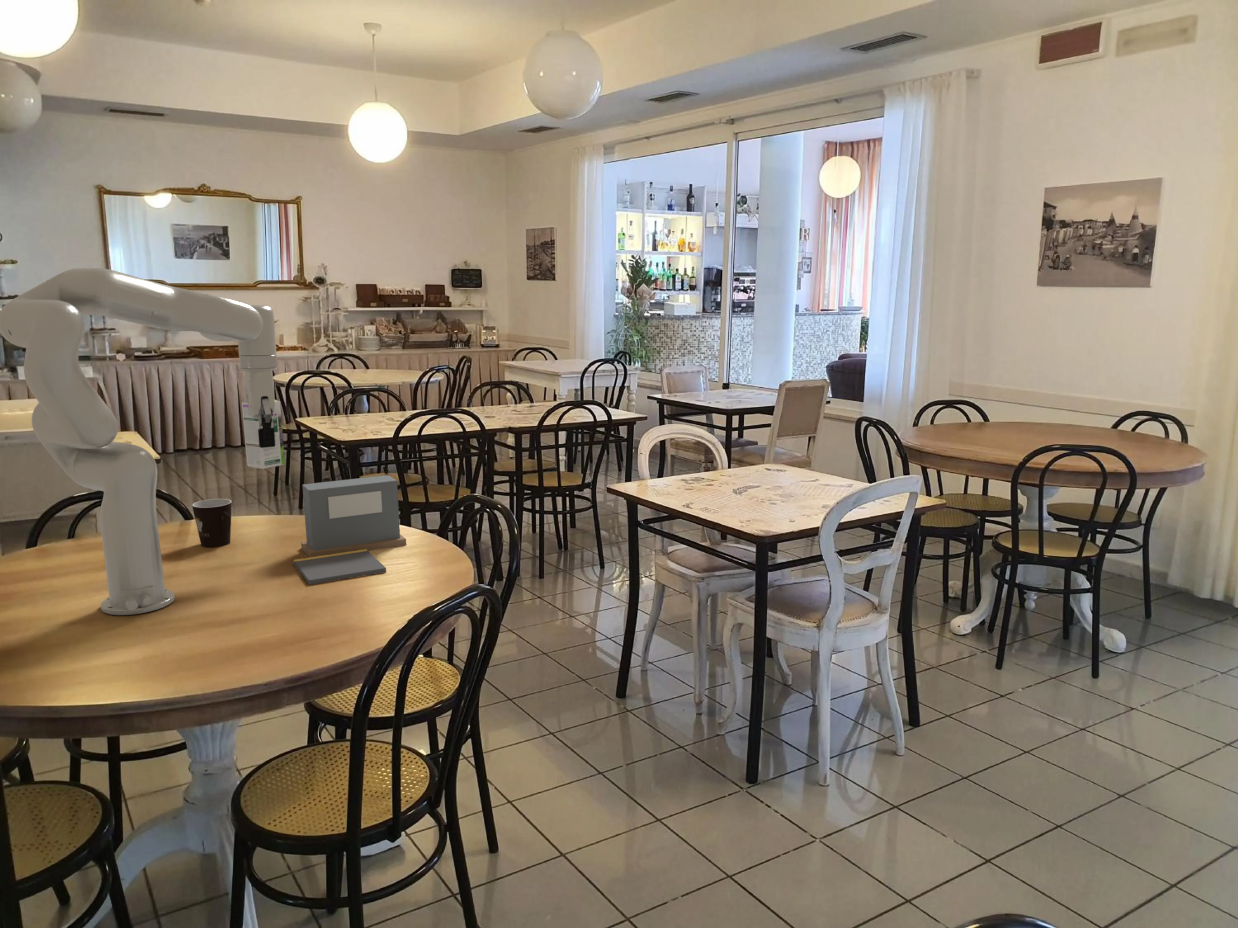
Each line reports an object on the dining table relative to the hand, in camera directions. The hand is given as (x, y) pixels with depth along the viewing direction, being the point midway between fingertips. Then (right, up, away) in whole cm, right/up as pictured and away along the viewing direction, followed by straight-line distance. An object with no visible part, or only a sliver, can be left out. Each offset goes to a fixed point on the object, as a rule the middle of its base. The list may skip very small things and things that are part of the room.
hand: (264, 443), depth 197 cm
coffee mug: (-18, -24, +17) cm, 34 cm away
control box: (+15, -24, +15) cm, 32 cm away
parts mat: (+17, -27, -1) cm, 32 cm away
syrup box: (0, -5, +1) cm, 5 cm away
